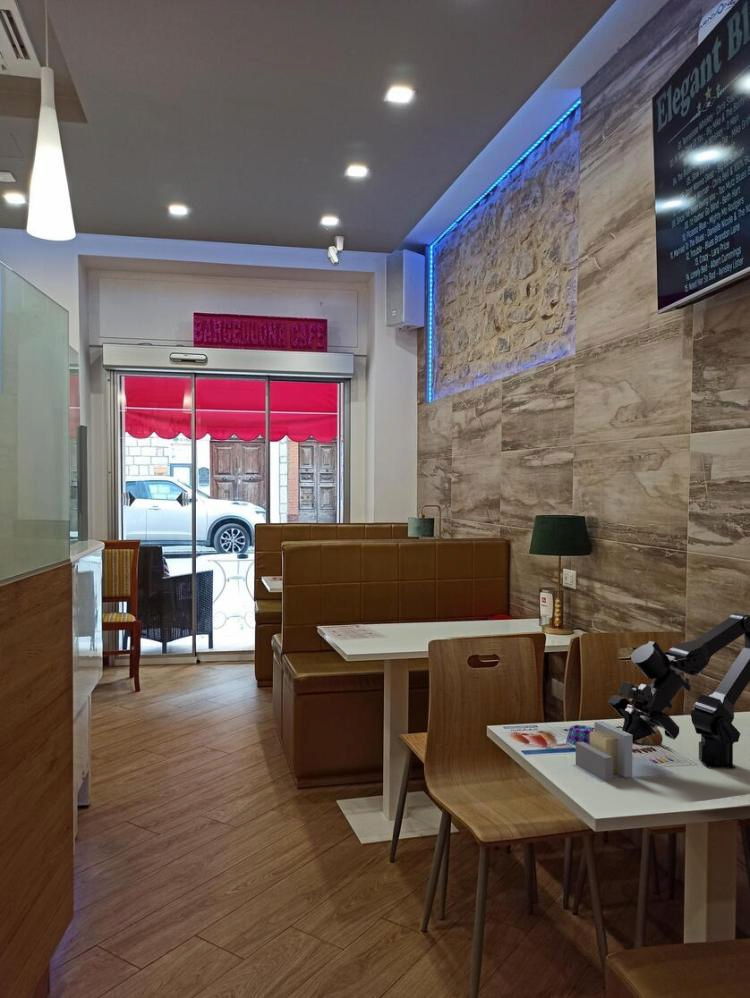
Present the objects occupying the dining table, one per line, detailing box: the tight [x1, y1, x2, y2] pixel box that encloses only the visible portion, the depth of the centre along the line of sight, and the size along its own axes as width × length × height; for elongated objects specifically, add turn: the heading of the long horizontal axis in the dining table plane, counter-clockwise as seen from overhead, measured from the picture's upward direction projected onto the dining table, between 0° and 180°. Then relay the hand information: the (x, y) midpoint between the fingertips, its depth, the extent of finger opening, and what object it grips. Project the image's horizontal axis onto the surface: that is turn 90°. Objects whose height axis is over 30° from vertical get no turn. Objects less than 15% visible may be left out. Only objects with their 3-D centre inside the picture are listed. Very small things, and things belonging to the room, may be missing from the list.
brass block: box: [590, 730, 618, 775], centre depth 166 cm, size 3×6×8 cm, turn 18°
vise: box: [571, 742, 674, 783], centre depth 167 cm, size 19×11×6 cm, turn 108°
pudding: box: [556, 724, 594, 746], centre depth 187 cm, size 12×12×5 cm
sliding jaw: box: [594, 720, 634, 778], centre depth 166 cm, size 2×11×9 cm, turn 18°
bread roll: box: [633, 727, 664, 748], centre depth 190 cm, size 10×10×8 cm
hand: (620, 744), depth 167 cm, fingers closed
